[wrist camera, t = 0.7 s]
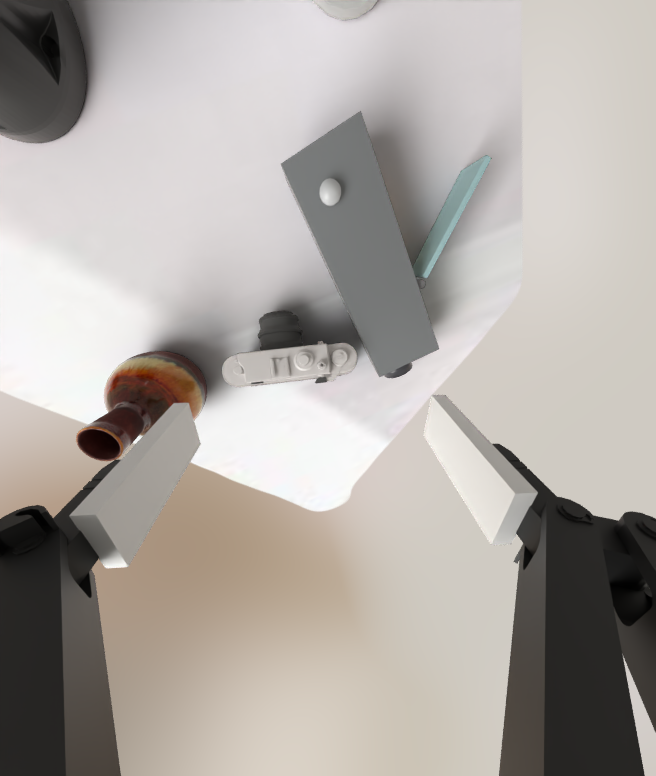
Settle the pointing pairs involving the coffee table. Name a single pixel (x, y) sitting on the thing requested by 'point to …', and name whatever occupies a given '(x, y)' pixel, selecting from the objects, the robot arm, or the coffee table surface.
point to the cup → (345, 8)
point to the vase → (141, 401)
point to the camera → (287, 356)
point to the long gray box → (362, 245)
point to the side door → (448, 218)
